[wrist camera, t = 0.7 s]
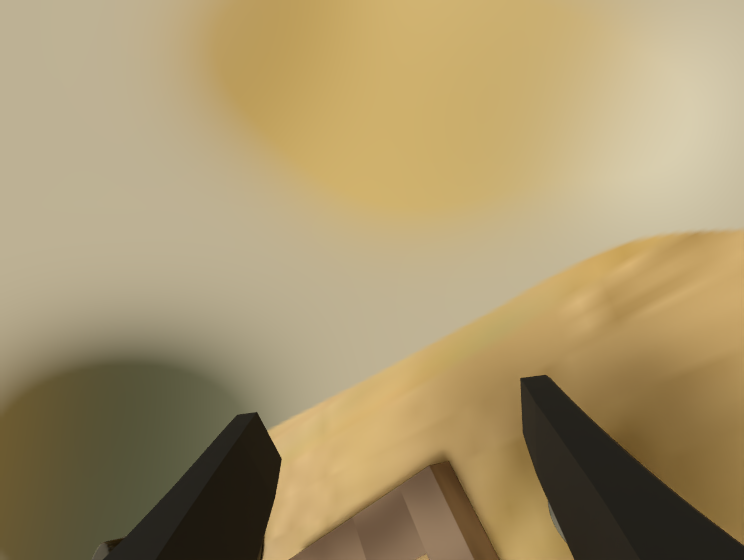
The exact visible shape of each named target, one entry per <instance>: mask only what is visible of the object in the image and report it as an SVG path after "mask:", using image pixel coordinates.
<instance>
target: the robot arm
mask: <svg viewBox="0 0 744 560" xmlns="http://www.w3.org/2000/svg"><path fill="white" fill-rule="evenodd" d="M520 381H521V402H522V424H523V435H524V438H525V441H526V444H527V447H528V450H529V453H530V456H531V459H532V462H533V465H534V468H535V471H536V474H537V476H538V479H539V481H540V483H541V486H542V488H543V490H544V492H545V495H546V497H547V499H548V501H549V504H550V506H551V508H552V511H553V513H554V515H555V517H556V519H557V522H558V524H559V526H560V528H561V531H562V533H563V535H564V537H565V540H566V542H567V544H568V546H569V549H570V551H571V553H572V555H573V558H574V560H744V545H742V544H741V543H740V542H738V541H737V540H736V539H734V538H733V537H732V536H730V535H729V534H728V533H726V532H725V531H724V530H722V529H721V528H720V527H718V526H717V525H716V524H715V523H713V522H712V521H711V520H709V519H708V518H707V517H705V516H704V515H703V514H702V513H700V512H699V511H698V510H696V509H695V508H694V507H693V506H691V505H690V504H689V503H688V502H686V501H685V500H684V499H683V498H681V497H680V496H679V495H678V494H676V493H675V492H674V491H673V490H672V489H670V488H669V487H668V486H667V485H665V484H664V483H663V482H662V481H661V480H659V479H658V478H657V477H656V476H655V475H653V474H652V473H651V472H650V471H649V470H647V469H646V468H645V467H644V466H643V465H642V464H641V463H639V462H638V461H637V460H636V459H635V458H634V457H632V456H631V455H630V454H629V453H628V452H627V451H626V450H625V449H623V448H622V447H621V446H620V445H619V444H618V443H617V442H616V441H615V440H613V439H612V438H611V437H610V436H609V435H608V434H607V433H606V432H605V431H603V430H602V429H601V428H600V427H599V426H598V425H597V424H596V423H595V422H594V421H593V420H592V419H591V418H590V417H589V416H588V415H587V414H585V413H584V412H583V411H582V410H581V409H580V408H579V407H578V406H577V405H576V404H575V403H574V402H573V401H572V400H571V399H570V398H569V397H568V396H567V395H566V394H565V393H564V392H563V391H562V390H561V389H560V388H559V387H558V386H557V385H556V384H555V382H554V381H553V380H552V379H551V378H550V377H548V376H547V375H541V376H534V377H526V378H520ZM281 460H282V459H281V457H280V455H279V453H278V451H277V449H276V447H275V445H274V443H273V442H272V440H271V438H270V436H269V434H268V432H267V430H266V428H265V426H264V425H263V423H262V421H261V419H260V417H259V415H258V413H257V412H255V413H248V414H240V415H237V416H236V417H235V418H234V419H233V420H232V421H231V422H230V423H229V424H228V425H227V427H226V428H225V429H224V430H223V431H222V432H221V433H220V434H219V436H218V437H217V438H216V439H215V440H214V441H213V443H212V444H211V445H210V446H209V447H208V448H207V449H206V451H205V452H204V453H203V454H202V455H201V456H200V457H199V458H198V460H197V461H196V462H195V463H194V464H193V465H192V466H191V467H190V468H189V470H188V471H187V472H186V473H185V474H184V475H183V476H182V478H181V479H180V480H179V481H178V482H177V483H176V484H175V486H173V488H172V489H171V490H170V491H169V492H168V493H167V494H166V495H165V496H164V497H163V498H162V499H161V500H160V501H159V503H158V504H157V505H156V506H155V507H154V508H153V509H152V510H151V511H150V512H149V513H148V514H147V515H146V516H145V517H144V518H143V519H142V521H141V522H140V523H139V524H138V525H137V526H136V527H135V528H134V529H133V530H132V531H131V532H130V533H129V534H128V535H127V536H126V537H125V538H124V539H123V540H122V541H121V542H120V543H119V544H118V545H117V546H116V547H115V548H114V549H113V550H112V551H111V552H110V553H109V554H108V555H107V556H106V557H105V558H104V559H103V560H257V558H258V554H259V551H260V548H261V544H262V541H263V538H264V534H265V531H266V527H267V524H268V520H269V517H270V514H271V510H272V507H273V503H274V499H275V495H276V489H277V484H278V479H279V472H280V466H281Z"/></svg>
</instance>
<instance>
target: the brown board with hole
mask: <svg viewBox="0 0 744 560" xmlns="http://www.w3.org/2000/svg"><path fill="white" fill-rule="evenodd" d="M426 553H427V555H428V558H429V560H499V558H498V556H497V554H496V552H495V550H494V549H493V547H492V545H491V543H490V541H489V539H488V537H487V535H486V533H485V531H484V529H483V527H482V525H481V523H480V521H479V519H478V517H477V516H476V514H475V512H474V510H473V508H472V506H471V504H470V502H469V500H468V498H467V496H466V494H465V492H464V490H463V488H462V486H461V484H460V483H459V481H458V479H457V477H456V475H455V473H454V471H453V469H452V467H451V465H450V463H449V461H448V462H443V463H439V464H434V465H430V466H428V467H426V468H425V469H423V470H422V471H420V472H419V473H417V474H416V475H414V476H413V477H411V478H410V479H408V480H407V481H405V482H404V483H402V484H401V485H399V486H398V487H396V488H395V489H394V490H392V491H391V492H389V493H388V494H386V495H385V496H383V497H382V498H380V499H379V500H377V501H376V502H374V503H373V504H371V505H370V506H368V507H367V508H365V509H364V510H362V511H361V512H359V513H358V514H356V515H355V516H353V517H352V518H350V519H349V520H347V521H346V522H344V523H343V524H341V525H340V526H338V527H337V528H335V529H334V530H332V531H331V532H329V533H328V534H326V535H325V536H323V537H322V538H320V539H319V540H317V541H316V542H314V543H313V544H311V545H310V546H308V547H307V548H305V549H304V550H302V551H301V552H300V553H298V554H297V555H295V556H294V557H292V558H291V559H289V560H416V559H417V558H419V557H421V556H423V555H425V554H426Z"/></svg>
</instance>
